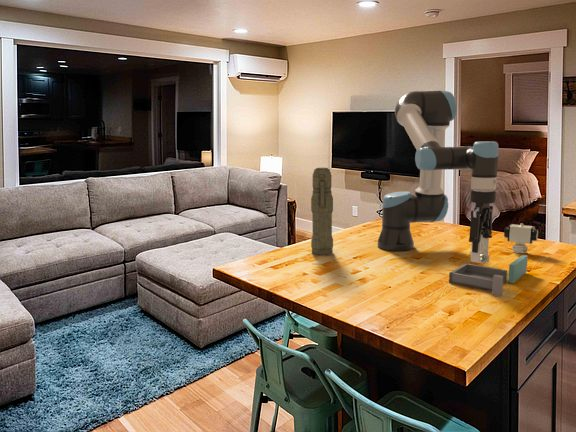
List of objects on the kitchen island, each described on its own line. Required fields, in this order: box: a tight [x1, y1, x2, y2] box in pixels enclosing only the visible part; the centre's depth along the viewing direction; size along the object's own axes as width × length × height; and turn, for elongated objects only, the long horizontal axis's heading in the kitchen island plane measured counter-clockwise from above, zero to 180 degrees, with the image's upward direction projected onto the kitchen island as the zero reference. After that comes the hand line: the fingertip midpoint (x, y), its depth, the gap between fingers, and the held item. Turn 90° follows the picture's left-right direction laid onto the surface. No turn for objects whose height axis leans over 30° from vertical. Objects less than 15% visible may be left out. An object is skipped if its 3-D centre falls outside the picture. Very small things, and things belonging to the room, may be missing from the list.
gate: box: [507, 254, 529, 284], centre depth 164 cm, size 2×15×6 cm, turn 140°
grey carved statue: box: [310, 167, 334, 257], centre depth 197 cm, size 9×12×35 cm
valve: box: [469, 225, 493, 265], centre depth 159 cm, size 7×7×12 cm
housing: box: [448, 262, 508, 297], centre depth 159 cm, size 17×17×6 cm
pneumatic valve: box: [503, 223, 539, 255], centre depth 196 cm, size 6×12×12 cm, turn 55°
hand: (479, 259), depth 160 cm, fingers closed on valve, 7 cm apart
